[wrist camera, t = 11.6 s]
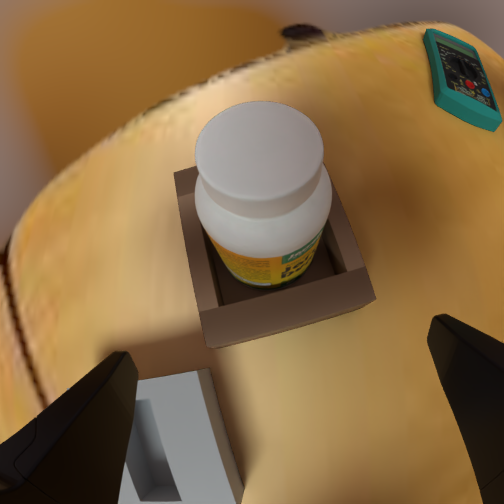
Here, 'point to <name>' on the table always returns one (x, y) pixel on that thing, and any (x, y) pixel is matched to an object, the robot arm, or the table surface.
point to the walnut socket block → (275, 301)
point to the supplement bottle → (262, 191)
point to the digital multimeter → (461, 81)
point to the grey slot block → (179, 445)
